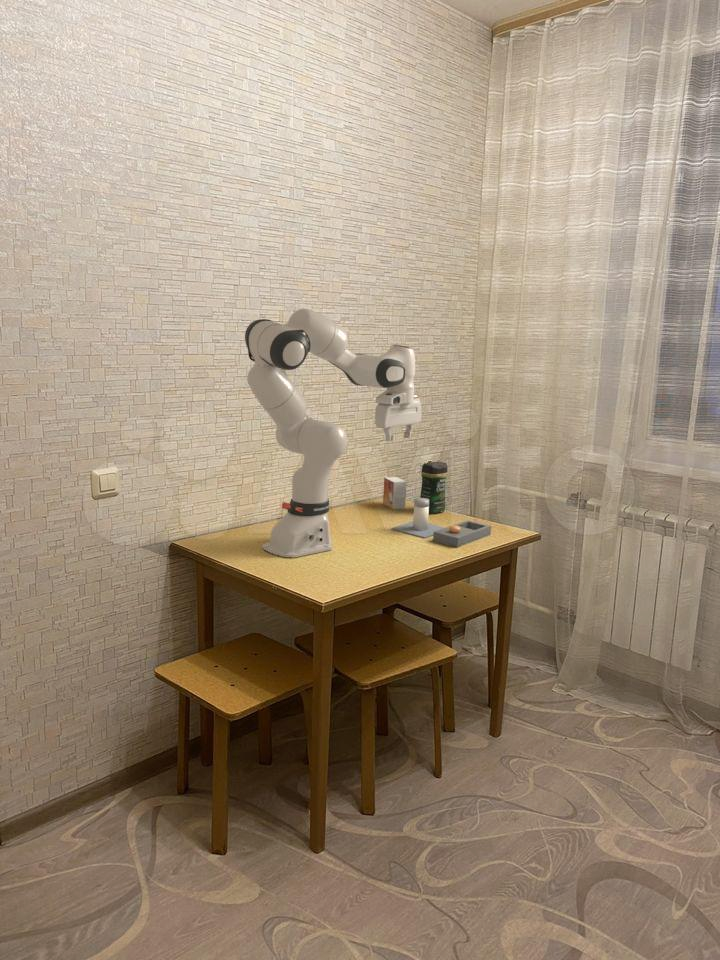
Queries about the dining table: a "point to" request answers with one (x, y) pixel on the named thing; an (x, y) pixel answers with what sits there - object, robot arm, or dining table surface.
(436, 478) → the coffee jar
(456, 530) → the orange flat dome
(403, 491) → the small box
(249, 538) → the dining table surface
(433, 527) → the mat
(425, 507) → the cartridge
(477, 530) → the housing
